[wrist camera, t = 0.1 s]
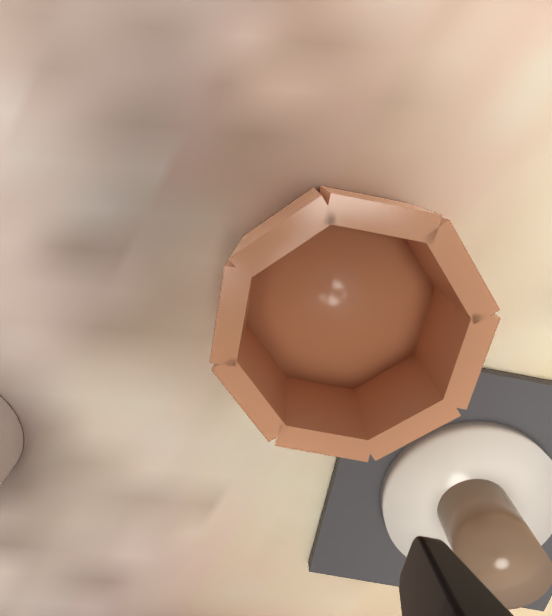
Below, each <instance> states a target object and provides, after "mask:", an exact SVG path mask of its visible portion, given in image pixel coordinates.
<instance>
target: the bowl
mask: <svg viewBox="0 0 552 616" xmlns="http://www.w3.org/2000/svg"><path fill="white" fill-rule="evenodd" d="M499 310H500V309H499V307H498V306H497V304H496V302H495V300H494V298H493V297H492V295H491V293H490V291H489V289H488V288H487V286H486V284H485V282H484V281H483V279H482V277H481V275H480V273H479V272H478V270H477V268H476V266H475V265H474V263H473V261H472V259H471V257H470V256H469V254H468V252H467V250H466V248H465V247H464V245H463V243H462V241H461V240H460V238H459V236H458V234H457V232H456V231H455V229H454V227H453V225H452V223H451V222H450V220H448V219H445V218H442V215H441V214H438V213H435V212H432V211H429V210H426V209H423V208H420V207H417V206H414V205H412V204H409V203H406V202H401V201H396V200H391V199H386V198H381V197H376V196H370V195H365V194H360V193H355V192H350V191H345V190H340V189H335V188H330V187H325V186H320V191H319V192H318V191H317V190H316V189H315V188H314V187H313V188H312V189H310V190H309V191H307V192H306V193H304V194H303V195H302V196H300V197H299V198H297V199H296V200H294V201H293V202H291V203H290V204H289V205H287V206H286V207H284V208H283V209H281V210H280V211H278V212H277V213H276V214H274V215H273V216H271V217H270V218H268V219H267V220H265V221H264V222H263V223H261V224H260V225H258V226H257V227H255V228H254V229H252V230H251V231H250V232H248V233H247V234H245V235H244V236H243V237H242V239H241V240H240V242H239V243H238V245H237V247H236V248H235V250H234V251H233V253H232V255H231V256H230V258H229V259H228V261H227V262H226V264H225V266H224V272H223V279H222V285H221V292H220V298H219V304H218V311H217V317H216V324H215V330H214V337H213V343H212V350H211V356H210V363H214V365H213V368H212V371H213V372H214V374H215V375H216V376H217V378H218V379H219V380H220V381H221V383H222V384H223V385H224V386H225V388H226V389H227V390H228V391H229V393H230V394H231V395H232V396H233V398H234V399H235V400H236V402H237V403H238V404H239V405H240V407H241V408H242V409H243V410H244V412H245V413H246V414H247V415H248V417H249V418H250V419H251V420H252V422H253V423H254V424H255V426H256V427H257V428H258V429H259V431H260V432H261V433H262V434H263V436H264V437H265V438H266V439H267V441H268V442H269V441H271V440H273V439H275V438H276V439H275V446H279V447H285V448H291V449H296V450H302V451H307V452H313V453H319V454H324V455H330V456H336V457H341V458H347V459H352V460H358V461H364V462H368V460H369V456H370V454H371V455H372V457H373V458H374V460H375V461H376V460H378V459H380V458H382V457H384V456H386V455H388V454H390V453H392V452H393V451H395V450H397V449H399V448H401V447H403V446H405V445H407V444H409V443H410V442H412V441H414V440H416V439H418V438H420V437H422V436H424V435H426V434H427V433H429V432H431V431H433V430H435V429H437V428H439V427H441V426H443V425H444V424H446V423H448V422H450V421H452V420H454V419H456V418H458V417H459V416H461V415H460V413H459V411H458V410H457V408H460V409H466V410H467V407H468V404H469V402H470V399H471V396H472V394H473V391H474V388H475V386H476V383H477V380H478V377H479V375H480V372H481V369H482V367H483V364H484V361H485V358H486V356H487V353H488V350H489V348H490V345H491V342H492V339H493V337H494V334H495V331H496V329H497V326H498V323H499V320H500V317H498V316H497V315H496V314H494V313H495V312H497V311H499Z"/></svg>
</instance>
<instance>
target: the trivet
mask: <svg viewBox="0 0 552 616" xmlns="http://www.w3.org/2000/svg"><path fill="white" fill-rule="evenodd" d="M457 410H458V411H459V413H460V415H461V416H459V417H458V418H456V419H454V420H452V421H450V422H448V423H446V424H444V425H447V424H452V423H456V422H463V421H488V422H495V423H500V424H504V425H507V426H509V427H512V428H515V429H517V430H519V431H520V432H522V433H524V434H526V435H527V436H528V437H530V438H531V439H532V440H534V441H535V442H536V443H537V445H538V446H539V447H540V448H541V449H542V450H543V451H544V452H545V453H546V454H547V455H548V457H549V458H550V459H551V460H552V381H550V380H544V379H539V378H534V377H528V376H523V375H518V374H512V373H507V372H501V371H496V370H491V369H485V368H482V369H481V372H480V375H479V377H478V380H477V383H476V386H475V388H474V391H473V394H472V396H471V399H470V402H469V404H468V407H467V410H466V409H460V408H457ZM444 425H443V426H444ZM410 443H411V442H410ZM407 445H408V444H407ZM407 445H405V446H403V447H401V448H399V449H397V450H395V451H393V452H392V453H390V454H388V455H386V456H384V457H382V458H380V459H378V460H376V461H375V460H374V458H373V457H372V455H371V454H370V456H369V460H368V462H364V461H358V460H352V459H347V458H341V457H337V460H336V464H335V468H334V471H333V475H332V479H331V482H330V486H329V490H328V493H327V497H326V501H325V504H324V508H323V511H322V515H321V519H320V522H319V526H318V530H317V533H316V537H315V541H314V544H313V548H312V551H311V555H310V559H309V562H308V563H309V572H315V573H321V574H327V575H333V576H339V577H345V578H351V579H357V580H363V581H368V582H374V583H380V584H386V585H392V586H398V587H399V578H400V573H401V570H402V568H403V565H404V562H405V560H406V556H405V555H403V554H402V553H401V552H400V551H399V549H398V548H397V547H396V546H395V544H394V543H393V541H392V540H391V538H390V536H389V534H388V531H387V528H386V525H385V521H384V517H383V513H382V510H381V503H380V493H381V486H382V482H383V479H384V476H385V474H386V471H387V469H388V468H389V466H390V464H391V462H392V461H393V460H394V459H395V457H396V456H397V455H398V454H399V453H400V452H401V451H402V450H403V449H404V448H405V447H406V446H407ZM542 548H543V549H544V551H545V552H546V554H547V555H548V557H549V558H550V560H551V562H552V534H551V535H550V537H549V538H548V539H547V541H546V542H545V543H544V544H543V545H542ZM551 596H552V584H551V586H550V588H549V589H548V591H547V592H546V593H545V594H544V595H543V596H542V597H541V598H539V599H538V600H536V601H535V602H533V603H531V604H529V605H526V606H524V607H522V608H528V609H534V610H540V611H544V610H545V608H546V606H547V604H548V602H549V600H550V598H551Z"/></svg>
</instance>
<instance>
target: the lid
mask: <svg viewBox="0 0 552 616" xmlns="http://www.w3.org/2000/svg"><path fill="white" fill-rule="evenodd" d="M380 503H381V510H382V513H383V517H384V521H385V525H386V528H387V531H388V534H389V536H390V538H391V540H392V541H393V543H394V544H395V546H396V547H397V548H398V549H399V551H400V552H401V553H402V554H403V555H405V556H406V557H407V554H408V552H409V549H410V547H411V544H412V542H413V540H414V539H415V538H416V537H417V536H425V537H430V538H435V539H439V540H442V541H443V542H445V543H446V544H447V545H448V546H449V547H450V549H451V550H452V551H453V552H454V553H455V554H456V555H457V556H458V557H459V558H460V559H461V560H462V561H463V562H464V563H465V564H466V566H467V567H468V568H469V569H470V570H471V571H472V572H473V573H474V574H475V575H476V576H477V577H478V578H479V579H480V580H481V582H482V583H483V584H484V585H485V586H486V587H487V588H488V589H489V590H490V591H491V592H492V593H493V594H494V595H495V596H496V597H497V599H498V600H499V601H500V602H501V603H502V604H503V605H504V606H505V607H506V608H507V609H516V608H520V607H524V606H526V605H529V604H531V603H533V602H535V601H536V600H538V599H539V598H541V597H542V596H543V595H544V594H545V593H546V592H547V591H548V589H549V588H550V586H551V584H552V562H551V560H550V558H549V557H548V555H547V554H546V552H545V551H544V549H543V548H542V545H543V544H544V543H545V542H546V541H547V539H548V538H549V537H550V535H551V534H552V460H551V459H550V458H549V457H548V455H547V454H546V453H545V452H544V451H543V450H542V449H541V448H540V447H539V446H538V445H537V443H536V442H535V441H534V440H532V439H531V438H530V437H528V436H527V435H526V434H524V433H522V432H520V431H519V430H517V429H515V428H512V427H509V426H507V425H504V424H500V423H495V422H488V421H463V422H456V423H452V424H447V425H444V426H441V427H439V428H437V429H435V430H433V431H431V432H429V433H427V434H426V435H424V436H422V437H420V438H418V439H416V440H414V441H412V442H411V443H409V444H408V445H407V446H406V447H405V448H404V449H403V450H402V451H401V452H400V453H399V454H398V455H397V456H396V457H395V459H394V460H393V461H392V462H391V464H390V466H389V468H388V469H387V471H386V474H385V476H384V479H383V482H382V486H381V493H380Z"/></svg>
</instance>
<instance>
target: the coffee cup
mask: <svg viewBox="0 0 552 616" xmlns="http://www.w3.org/2000/svg"><path fill="white" fill-rule="evenodd" d="M22 450H23V431H22V427H21V424H20V422H19V420H18V418H17V416H16V414H15V412H14V411H13V409H12V408H11V407H10V406H9V404H8V403H7V402H6V401H5V400H4V399H3V398H2V397H1V396H0V485H1V483H2V482H3V481H4V479H5V478H6V477H7V475H8V474H9V473H10V471H11V470H12V469H13V467H14V466H15V465H16V463H17V462H18V460H19V458H20V456H21V453H22Z"/></svg>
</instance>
